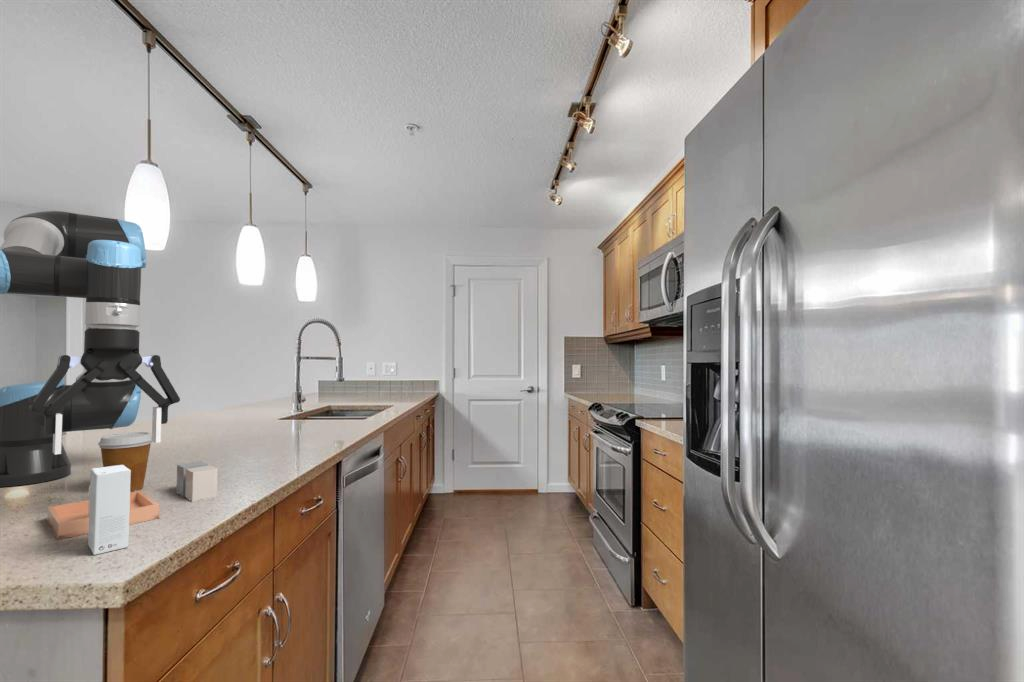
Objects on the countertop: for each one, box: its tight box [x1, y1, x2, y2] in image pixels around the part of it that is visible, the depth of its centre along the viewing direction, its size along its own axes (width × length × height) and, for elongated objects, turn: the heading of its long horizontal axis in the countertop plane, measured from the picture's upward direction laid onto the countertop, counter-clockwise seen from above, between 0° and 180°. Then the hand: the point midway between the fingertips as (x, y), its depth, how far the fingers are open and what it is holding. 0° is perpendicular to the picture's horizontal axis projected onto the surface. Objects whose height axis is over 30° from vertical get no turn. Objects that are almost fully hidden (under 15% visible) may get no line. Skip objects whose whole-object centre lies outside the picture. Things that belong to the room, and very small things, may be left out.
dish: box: [46, 490, 160, 541], centre depth 85 cm, size 13×13×2 cm
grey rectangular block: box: [176, 461, 209, 497], centre depth 103 cm, size 4×4×6 cm
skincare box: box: [87, 465, 131, 556], centre depth 74 cm, size 6×4×12 cm
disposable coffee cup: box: [97, 431, 153, 492], centre depth 104 cm, size 10×10×12 cm
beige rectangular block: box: [184, 464, 219, 502], centre depth 99 cm, size 4×4×6 cm
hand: (109, 447), depth 84 cm, fingers open, 13 cm apart
